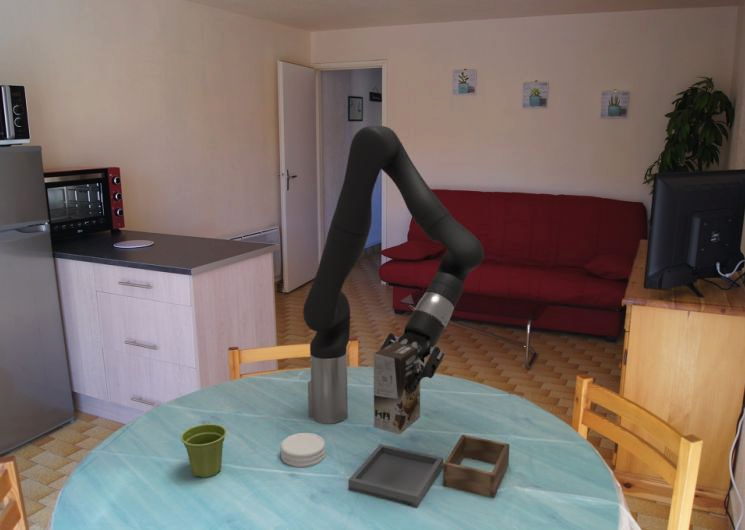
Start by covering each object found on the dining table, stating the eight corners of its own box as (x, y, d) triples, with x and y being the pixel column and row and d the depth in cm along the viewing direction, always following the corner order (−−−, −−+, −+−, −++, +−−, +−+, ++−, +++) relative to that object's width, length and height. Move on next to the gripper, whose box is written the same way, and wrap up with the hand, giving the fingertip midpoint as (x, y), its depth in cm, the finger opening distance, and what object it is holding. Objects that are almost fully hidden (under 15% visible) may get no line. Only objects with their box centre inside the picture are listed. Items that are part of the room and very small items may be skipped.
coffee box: (400, 435, 121) (400, 358, 117) (372, 428, 124) (371, 353, 121) (421, 417, 128) (421, 344, 125) (394, 410, 132) (394, 339, 128)
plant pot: (188, 487, 126) (185, 448, 124) (180, 466, 134) (177, 429, 132) (233, 475, 130) (231, 438, 128) (222, 455, 138) (220, 420, 137)
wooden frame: (442, 485, 126) (443, 463, 125) (461, 454, 138) (462, 434, 137) (493, 497, 122) (494, 475, 121) (508, 464, 134) (509, 444, 133)
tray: (348, 489, 125) (348, 479, 124) (380, 453, 139) (380, 444, 138) (417, 507, 119) (417, 496, 118) (443, 467, 133) (443, 457, 132)
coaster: (333, 451, 140) (333, 437, 139) (309, 472, 132) (308, 457, 131) (297, 442, 145) (297, 428, 144) (272, 461, 136) (271, 447, 136)
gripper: (396, 302, 132) (358, 368, 126) (449, 316, 122) (410, 387, 116) (412, 321, 136) (376, 384, 131) (464, 335, 127) (428, 404, 121)
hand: (392, 386), depth 123 cm, fingers closed on coffee box, 7 cm apart
